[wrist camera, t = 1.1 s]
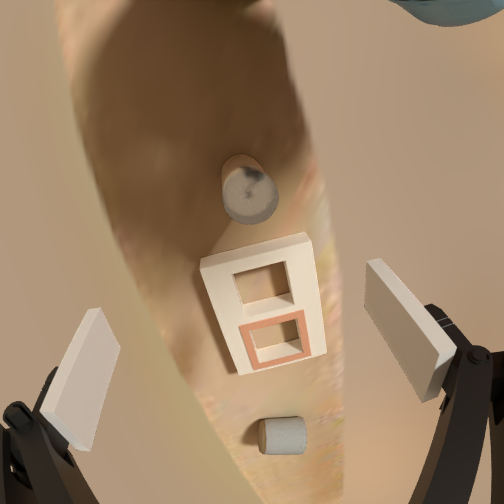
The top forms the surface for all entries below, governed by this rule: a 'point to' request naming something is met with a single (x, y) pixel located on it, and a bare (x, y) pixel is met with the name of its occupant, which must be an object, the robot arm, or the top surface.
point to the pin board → (267, 302)
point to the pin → (247, 190)
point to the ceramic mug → (282, 436)
